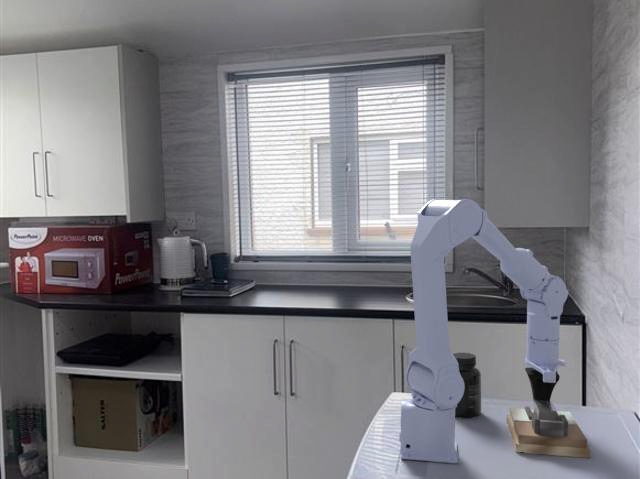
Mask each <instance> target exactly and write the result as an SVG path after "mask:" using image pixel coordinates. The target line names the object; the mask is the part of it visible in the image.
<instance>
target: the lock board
mask: <svg viewBox="0 0 640 479" xmlns="http://www.w3.org/2000/svg"><path fill="white" fill-rule="evenodd" d="M556 411H557V421H551V420H540V419H539V417H538V415H537V413H534V409H531V408H530V406H526V405H525V406H524V408H517V407H515V408H511V407H509V414H507V415H506V424H508V425H507V427H508V428H509V429H508V428H507V429H508V431H510V432H509V435H510V434H511V435H510V439H511V441H513V442H512V444H514V445H513V447H515V448H514V451H515V450H516V451H517V452H516V451H515V452H516V453H520V452H524V454H533V455H534V454H536V455H537V454H538V455H547V456H557V457H558V456H559V457H560V456H561V457H573V458H584V459H585V458H587V459H591V448H590V446H589V444H588V438H587V437H586V436H585V434H584V433H583V431H582V430H581V428H580V426H579V425H578V422H577V421H576V419H575V417H573V414H572V413H571V412H570V411H562V410H561V411H558V410H556Z"/></svg>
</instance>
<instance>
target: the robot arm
mask: <svg viewBox="0 0 640 479" xmlns="http://www.w3.org/2000/svg"><path fill="white" fill-rule="evenodd" d="M470 238H472V239H473V240H474V241H476V242H477V243H478V244H479V245H480V246H481V247H482V248H484V249H485V250H486V251H488V252H489V254H491V255H492V256H494V257H495V258H496V260H498V261H499V262H500V270H501V272H502V273H503V274H504V275H505V276H506V277H508V278H509V280H511V282H513V283H514V284H515V285H516V286H517V287H518V288H519V292H520V295H521V297H522V299H525V300H526V301H527V304H526V306H527V307H526V311H527V312H526V314H527V315H526V347H525V348H526V353H525V355H526V356H525V357H524V358H525V359H524V362H525V364H526V365H527V366H528V367H525V368H524V370H525V373H526V374H527V377H528V380H529V383H530V388H531V392H532V393H531V395H532V400H533V401H534V400H544V401H551V398H552V394H553V391H554V388H555V387H556V385H557V383H558V382H559V381H560V374H559V373H558V369H559V368H560V367H565V366H566V361H565V360H564V359H560V356H559V355H560V331H561V330H560V326H561V325H560V322H561V316H562V313H563V311H564V305H565V303H566V301H567V298H568V296H569V289H567V286H566V283H565V281H564V280H563V279H562V278H561V277H560V276H558V275H553V274H551V273H550V271H548V270H549V268H548V267H547V266H546V265H542V264H541V262H539V261H538V260H537V259H536V257H534V252H533V251H532V250H531V249H529V248H527V249H526V248H523V247H514V245H513V244H512V243H511V242H510V241H509V240H508V239H507V237H506V236H505V235H504V234H503V233H502V232H501V230H499V229H498V228H497V226H495V224H494V223H493V222H492V221H491V219H489V216H488V213H487V211H486V210H485V209H483V208H482V207H480V205H479V204H478V203H477V202H476V201H474V200H472V199H469V198H463V199H442V198H432V199H431V200H429V201H427V203H425V205H423V207H422V208H421V209H420V210H419V211H418V212H417V225H416V229H415V232H414V235H413V237H412V239H411V240H412V241H411V244H410V261H411V264H410V265H411V266H410V267H411V280H412V281H411V282H412V294H413V295H412V296H413V308H414V309H413V312H414V326H415V342H416V344H415V345H416V348H414V349H413V350H412V351H411V352H409V354H408V363H407V364H408V365H407V368H406V370H405V376H404V377H405V383H406V385H407V387H408V388H409V389H410V390H411V397H412V399H402V400H401V404H400V406H401V407H400V430H399V437H398V438H399V443H400V459H402V460H413V461H425V462H436V463H447V464H458V462H459V458H458V457H459V456H458V445H457V444H458V443H457V441H456V417H455V407H457V404H458V403H459V402H460V400H461V399H462V397H463V394H464V389H465V385H464V381H463V378H462V377H461V375H460V372H459V364H458V362H457V360H456V358H455V357H454V355H453V354H454V353H453V352H452V350H451V349H450V340H449V339H450V338H449V323H448V322H449V321H448V318H449V317H448V308H447V307H448V306H447V305H448V303H447V286H446V268H445V257H446V256H447V255H448V254H449V253H450V251H452V250H453V249H454V248H455V247H457V246H458V245H460V244H462V243H463V242H465V241H467V240H468V239H470Z"/></svg>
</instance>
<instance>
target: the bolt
mask: <svg viewBox="0 0 640 479" xmlns="http://www.w3.org/2000/svg"><path fill="white" fill-rule="evenodd" d="M533 410H534V413H537V415H538V417H539V419H540V420H551V421H557V411H558V410H557V409H556V407H555V405H554V404H553V402H552V400H550V401H544V400H533Z"/></svg>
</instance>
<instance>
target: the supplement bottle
mask: <svg viewBox="0 0 640 479" xmlns="http://www.w3.org/2000/svg"><path fill="white" fill-rule="evenodd" d="M452 354H453V355H454V357H455V358H456V360H457V362H458V364H459V372H460V375H461V377H462V378H463V381H464V385H465V389H464V394H463V397H462V399H461V400H460V402H459V403H458V404H457V407H455V416H456V417H455V418H459V417H461V418H460V419H472V418H473V417H474V418H477V417H479V416H480V415H481V413H482V372H481V371H480V369H478V367H476V366H477V356H476V355H475V354H473V353H469V352H455V353H452ZM474 418H473V419H474Z"/></svg>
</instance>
